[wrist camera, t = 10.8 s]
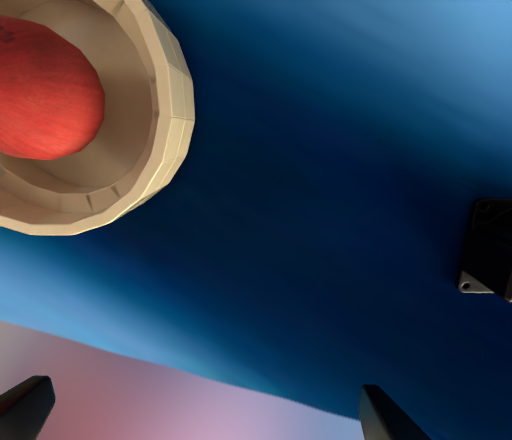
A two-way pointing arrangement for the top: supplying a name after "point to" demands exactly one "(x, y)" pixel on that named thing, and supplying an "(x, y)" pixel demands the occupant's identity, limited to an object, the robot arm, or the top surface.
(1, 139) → the onion
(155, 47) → the bowl
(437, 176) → the top surface
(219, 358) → the top surface
